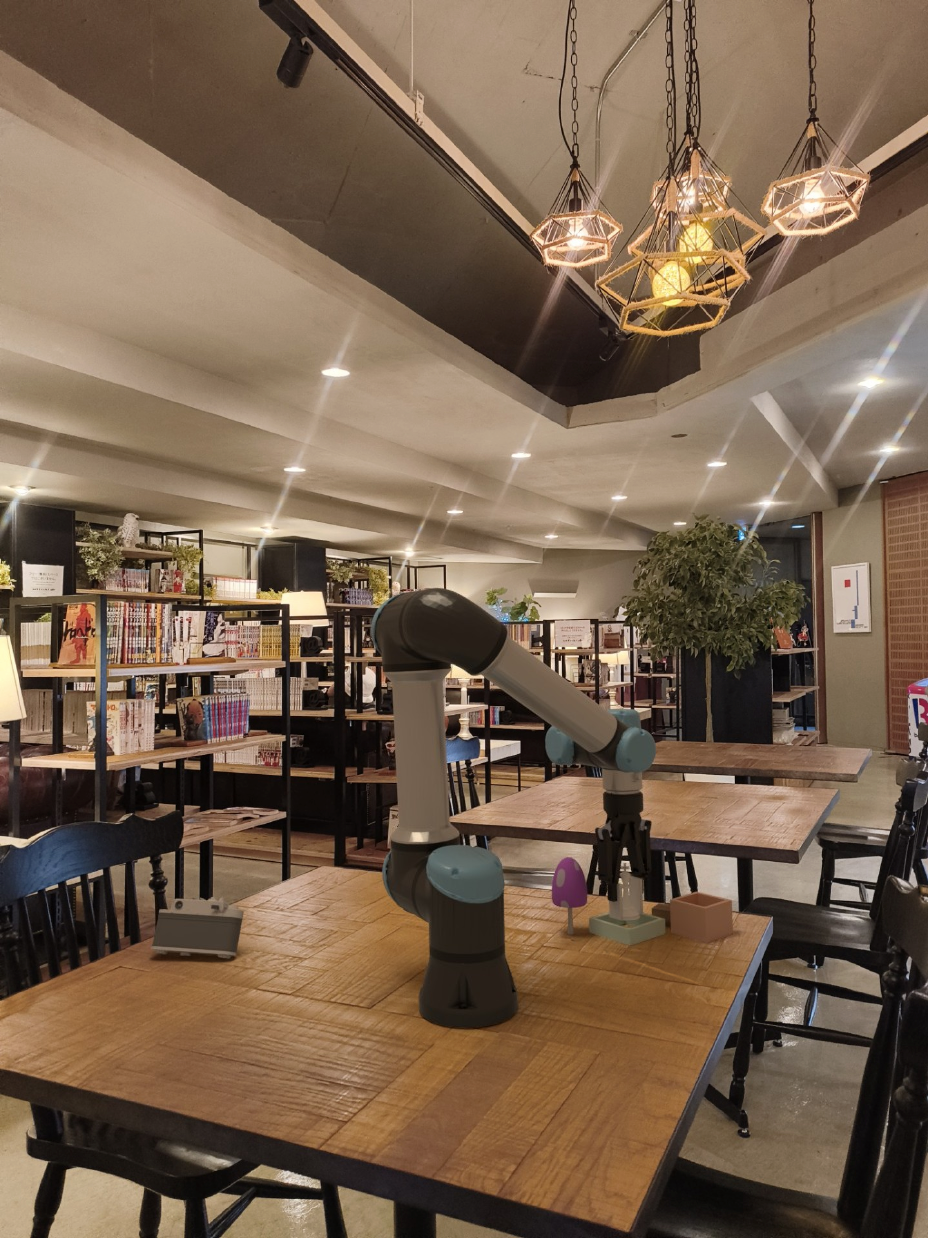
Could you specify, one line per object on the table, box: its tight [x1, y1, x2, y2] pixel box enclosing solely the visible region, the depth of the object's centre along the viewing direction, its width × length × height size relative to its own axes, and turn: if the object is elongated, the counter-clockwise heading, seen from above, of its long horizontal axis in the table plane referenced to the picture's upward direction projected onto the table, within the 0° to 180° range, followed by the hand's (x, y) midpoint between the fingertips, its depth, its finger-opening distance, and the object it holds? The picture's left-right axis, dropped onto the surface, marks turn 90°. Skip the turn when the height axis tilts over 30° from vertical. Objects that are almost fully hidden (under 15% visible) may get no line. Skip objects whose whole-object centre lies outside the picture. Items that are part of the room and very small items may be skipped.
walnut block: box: [651, 902, 671, 928], centre depth 170 cm, size 4×4×4 cm
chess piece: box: [619, 862, 640, 921], centre depth 165 cm, size 5×5×10 cm
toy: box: [551, 856, 588, 939], centre depth 165 cm, size 7×7×15 cm
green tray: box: [588, 911, 667, 946], centre depth 165 cm, size 10×10×4 cm
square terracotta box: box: [669, 891, 734, 945], centre depth 163 cm, size 8×8×7 cm
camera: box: [150, 896, 245, 960], centre depth 162 cm, size 9×16×10 cm, turn 83°
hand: (626, 914), depth 165 cm, fingers closed on chess piece, 5 cm apart
